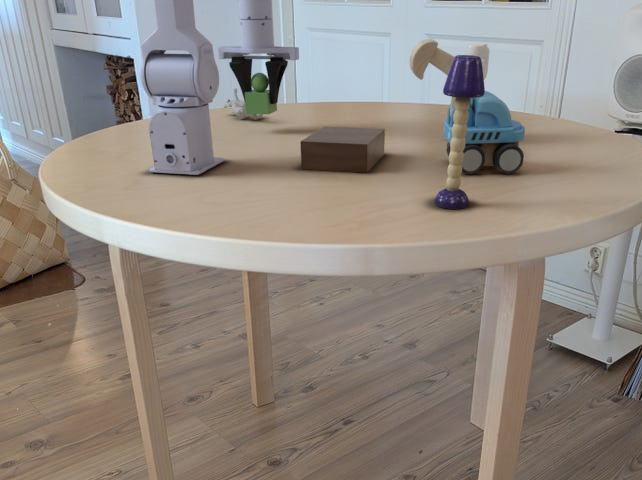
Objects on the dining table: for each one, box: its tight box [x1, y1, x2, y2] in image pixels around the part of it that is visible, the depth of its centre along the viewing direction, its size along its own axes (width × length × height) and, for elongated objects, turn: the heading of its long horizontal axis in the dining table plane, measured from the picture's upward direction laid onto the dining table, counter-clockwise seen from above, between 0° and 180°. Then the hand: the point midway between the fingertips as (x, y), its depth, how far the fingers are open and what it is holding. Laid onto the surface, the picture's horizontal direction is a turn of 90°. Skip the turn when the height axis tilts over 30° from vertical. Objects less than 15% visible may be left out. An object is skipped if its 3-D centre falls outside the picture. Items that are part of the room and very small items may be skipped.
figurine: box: [467, 43, 490, 80], centre depth 112 cm, size 7×9×15 cm
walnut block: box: [300, 125, 386, 174], centre depth 100 cm, size 12×10×4 cm
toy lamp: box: [433, 54, 486, 210], centre depth 77 cm, size 5×5×17 cm
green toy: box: [244, 72, 278, 115], centre depth 120 cm, size 4×4×7 cm
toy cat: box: [223, 88, 264, 121], centre depth 134 cm, size 8×5×12 cm
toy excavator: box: [409, 38, 526, 175], centre depth 93 cm, size 9×17×17 cm, turn 91°
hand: (261, 102), depth 121 cm, fingers closed on green toy, 4 cm apart
